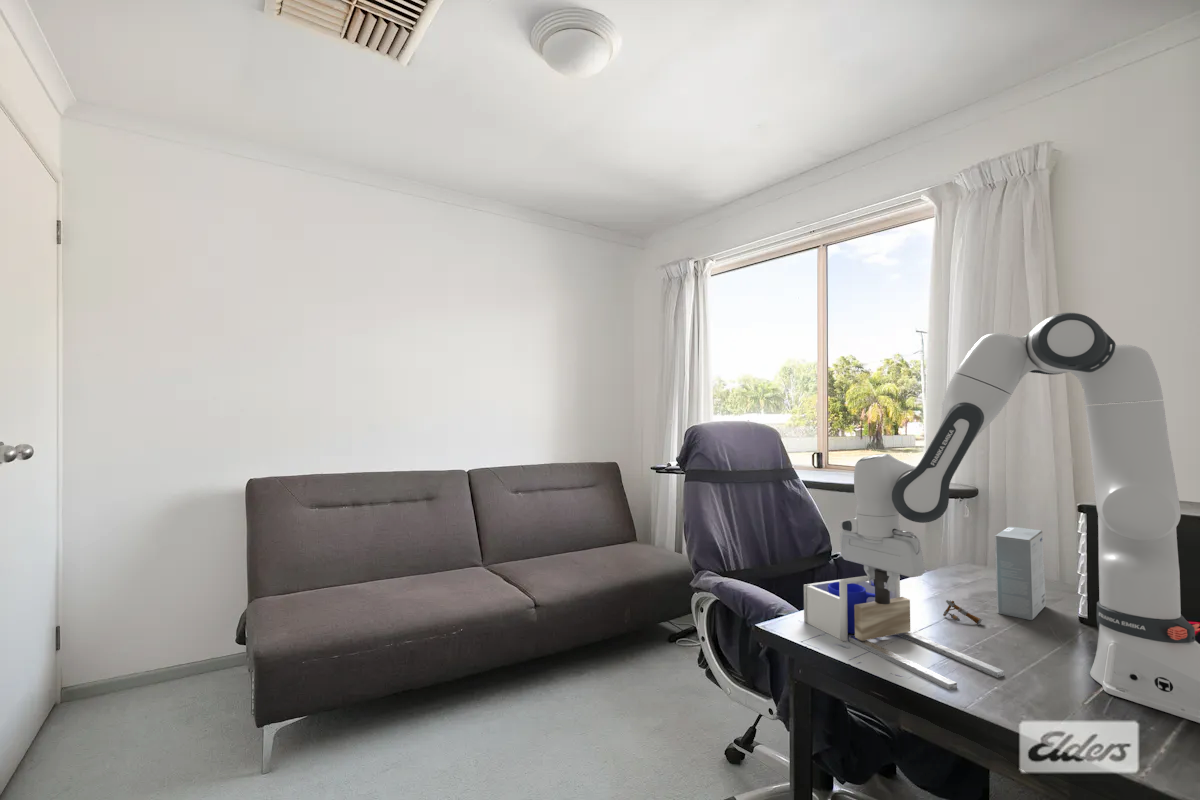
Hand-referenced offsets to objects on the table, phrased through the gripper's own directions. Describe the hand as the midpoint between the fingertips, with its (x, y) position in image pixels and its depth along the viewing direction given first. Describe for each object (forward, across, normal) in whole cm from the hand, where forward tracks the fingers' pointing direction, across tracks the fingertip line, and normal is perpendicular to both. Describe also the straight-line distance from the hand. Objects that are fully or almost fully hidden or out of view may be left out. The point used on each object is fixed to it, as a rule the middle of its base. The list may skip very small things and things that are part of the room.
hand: (881, 588), depth 128 cm
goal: (+11, +10, 0) cm, 15 cm away
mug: (+12, +6, +2) cm, 13 cm away
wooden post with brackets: (+13, +2, -27) cm, 30 cm away
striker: (+10, 0, 0) cm, 10 cm away
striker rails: (+12, -9, 0) cm, 15 cm away
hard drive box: (+13, +2, -49) cm, 50 cm away
